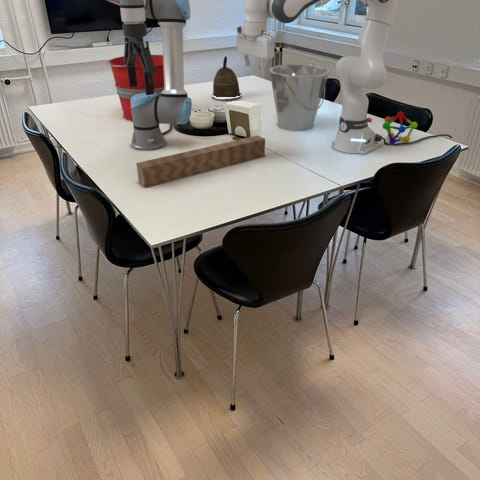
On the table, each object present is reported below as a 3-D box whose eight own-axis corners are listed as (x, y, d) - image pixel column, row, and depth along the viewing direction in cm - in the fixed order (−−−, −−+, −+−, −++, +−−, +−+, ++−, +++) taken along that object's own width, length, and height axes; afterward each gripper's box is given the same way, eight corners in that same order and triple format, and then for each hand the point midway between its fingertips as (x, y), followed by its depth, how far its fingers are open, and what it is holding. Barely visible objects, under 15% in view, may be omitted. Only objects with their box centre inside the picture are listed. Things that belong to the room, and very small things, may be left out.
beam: (144, 187, 168) (142, 167, 163) (138, 182, 171) (136, 163, 167) (264, 156, 195) (265, 138, 191) (257, 152, 199) (257, 135, 195)
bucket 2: (296, 138, 215) (301, 78, 201) (255, 124, 234) (256, 68, 219) (335, 125, 232) (342, 70, 217) (294, 113, 251) (297, 61, 236)
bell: (227, 105, 294) (202, 96, 282) (238, 66, 289) (213, 55, 277) (243, 108, 280) (217, 98, 268) (255, 66, 275) (229, 55, 263)
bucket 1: (123, 106, 262) (116, 51, 247) (182, 106, 262) (178, 52, 246) (106, 123, 233) (97, 63, 217) (172, 124, 232) (168, 64, 216)
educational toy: (377, 146, 209) (379, 114, 202) (384, 138, 219) (386, 107, 211) (411, 149, 202) (415, 116, 195) (417, 141, 212) (420, 109, 204)
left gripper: (162, 25, 135) (167, 96, 146) (129, 18, 152) (136, 82, 164) (139, 27, 131) (147, 99, 143) (108, 19, 149) (117, 84, 160)
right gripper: (279, 32, 163) (277, 71, 170) (246, 26, 177) (246, 63, 184) (265, 33, 160) (264, 73, 167) (233, 27, 174) (233, 64, 181)
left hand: (141, 90), depth 153 cm, fingers open, 13 cm apart
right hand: (254, 67), depth 176 cm, fingers open, 8 cm apart
